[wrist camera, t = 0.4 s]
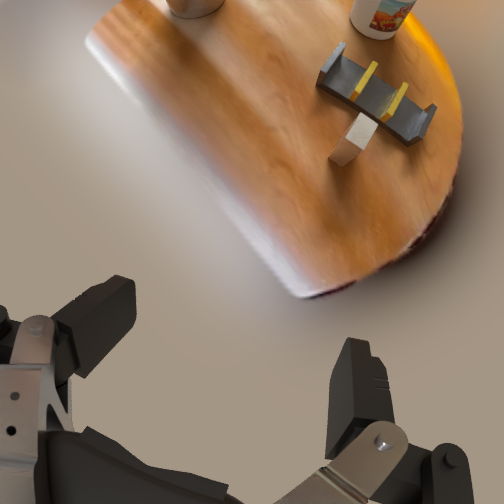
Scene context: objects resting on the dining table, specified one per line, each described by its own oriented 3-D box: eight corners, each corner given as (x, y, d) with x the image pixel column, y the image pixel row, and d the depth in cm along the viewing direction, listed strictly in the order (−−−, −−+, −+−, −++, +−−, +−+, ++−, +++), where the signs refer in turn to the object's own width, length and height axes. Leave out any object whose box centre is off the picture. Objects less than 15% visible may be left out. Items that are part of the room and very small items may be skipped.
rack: (335, 57, 35) (341, 41, 31) (423, 116, 35) (437, 107, 31) (315, 84, 36) (320, 69, 31) (407, 147, 36) (422, 139, 31)
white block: (340, 136, 36) (360, 112, 27) (354, 146, 36) (378, 124, 27) (327, 157, 37) (345, 137, 27) (342, 167, 37) (363, 150, 27)
